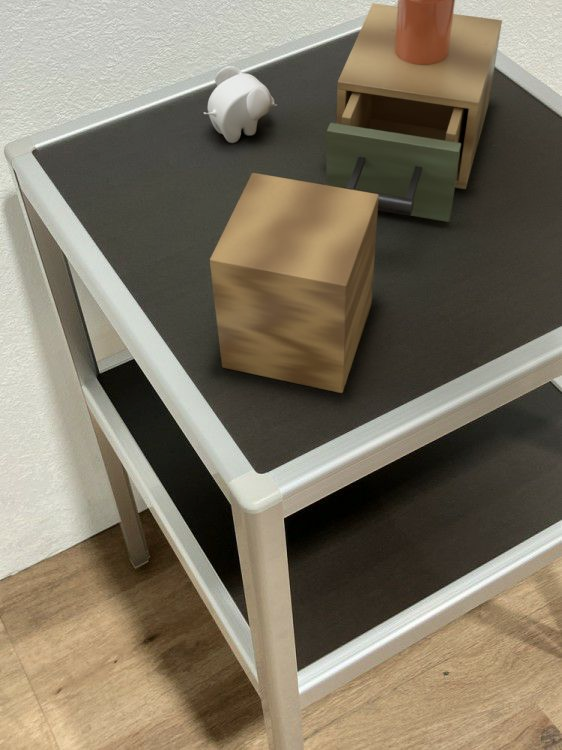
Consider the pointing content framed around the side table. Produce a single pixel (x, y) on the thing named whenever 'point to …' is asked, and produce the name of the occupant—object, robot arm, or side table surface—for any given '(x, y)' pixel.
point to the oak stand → (295, 280)
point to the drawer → (398, 153)
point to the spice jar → (423, 30)
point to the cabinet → (426, 72)
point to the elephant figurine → (237, 103)
